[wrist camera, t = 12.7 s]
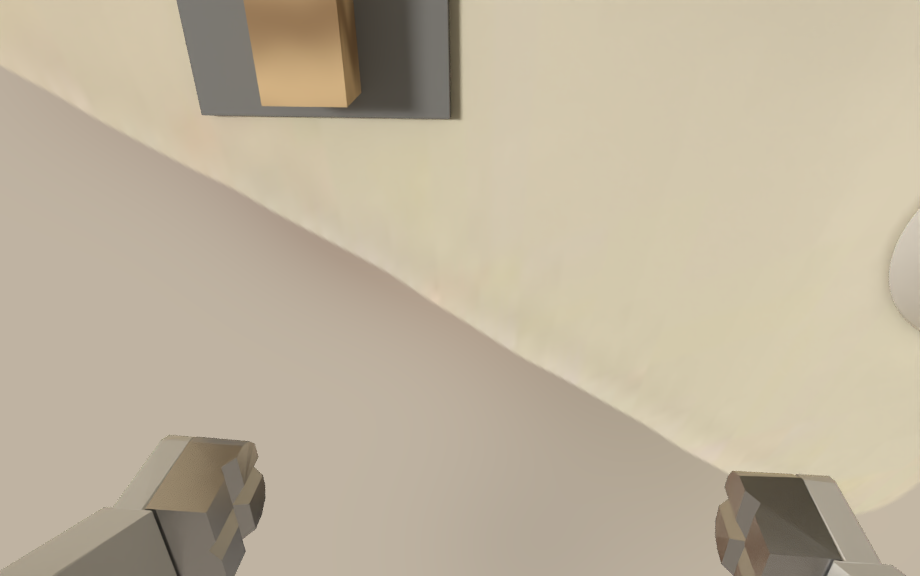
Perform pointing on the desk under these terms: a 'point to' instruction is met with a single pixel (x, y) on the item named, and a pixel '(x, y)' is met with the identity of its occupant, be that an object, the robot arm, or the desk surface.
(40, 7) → the desk surface
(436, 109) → the rubber mat
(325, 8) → the teal-topped wooden block
